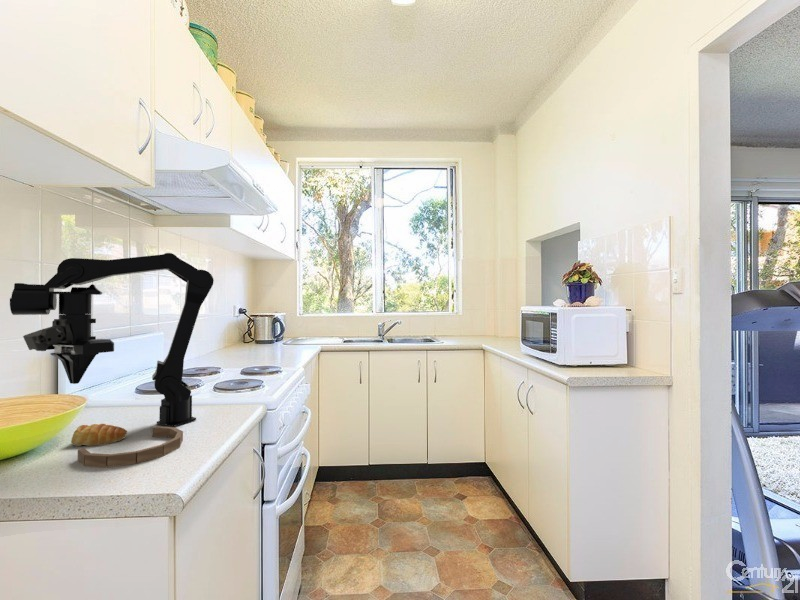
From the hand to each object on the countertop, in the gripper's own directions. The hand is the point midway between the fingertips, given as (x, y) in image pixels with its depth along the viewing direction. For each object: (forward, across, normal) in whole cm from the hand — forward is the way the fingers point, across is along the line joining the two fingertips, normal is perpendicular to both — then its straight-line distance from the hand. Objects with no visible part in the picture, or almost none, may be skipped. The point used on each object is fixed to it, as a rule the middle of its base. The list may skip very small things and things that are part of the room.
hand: (74, 383), depth 87 cm
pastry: (+12, +8, 0) cm, 15 cm away
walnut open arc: (+12, +23, 0) cm, 26 cm away
